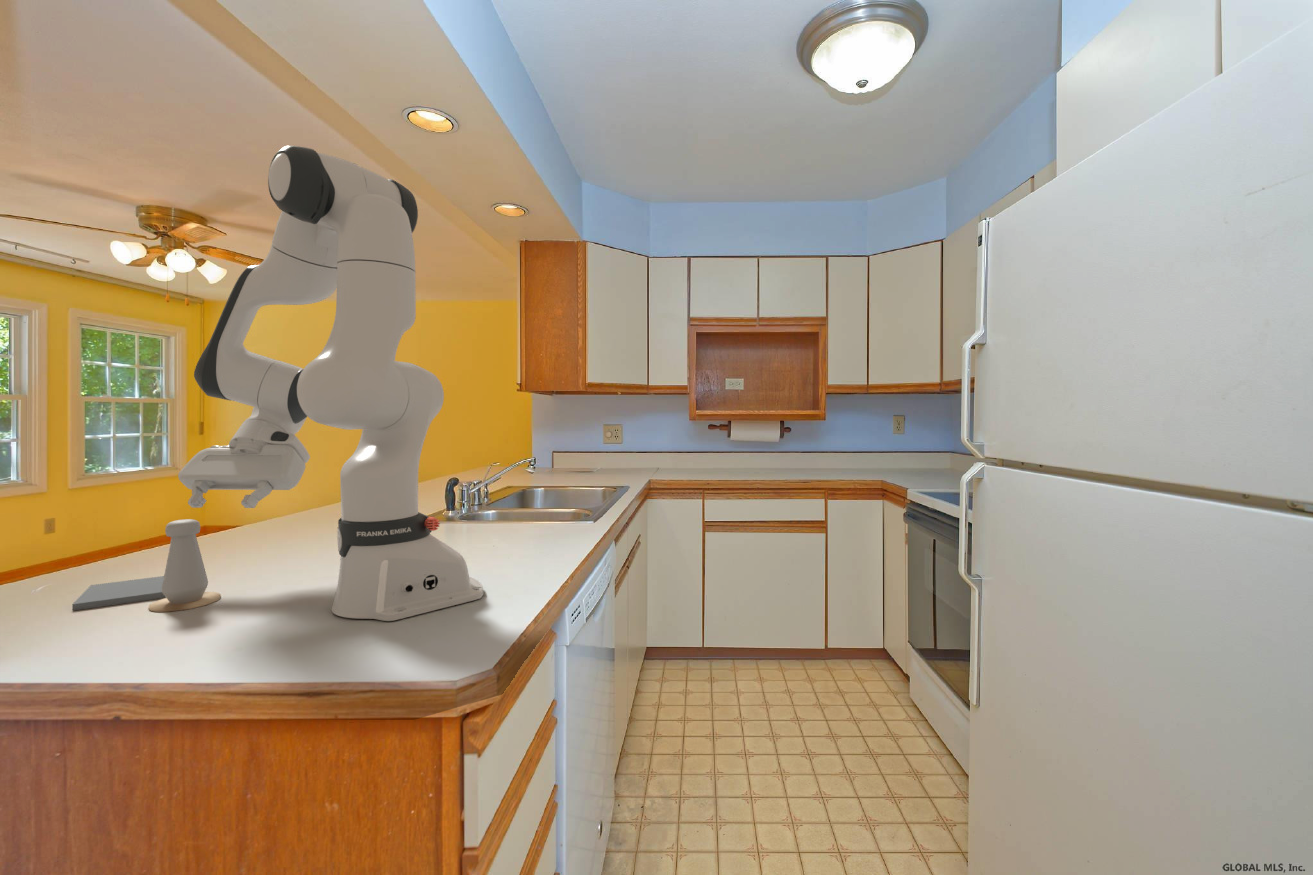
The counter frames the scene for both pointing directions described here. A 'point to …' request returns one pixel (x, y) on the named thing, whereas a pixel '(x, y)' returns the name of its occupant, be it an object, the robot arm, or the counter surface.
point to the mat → (120, 593)
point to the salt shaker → (184, 564)
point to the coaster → (165, 605)
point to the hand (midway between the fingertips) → (220, 505)
